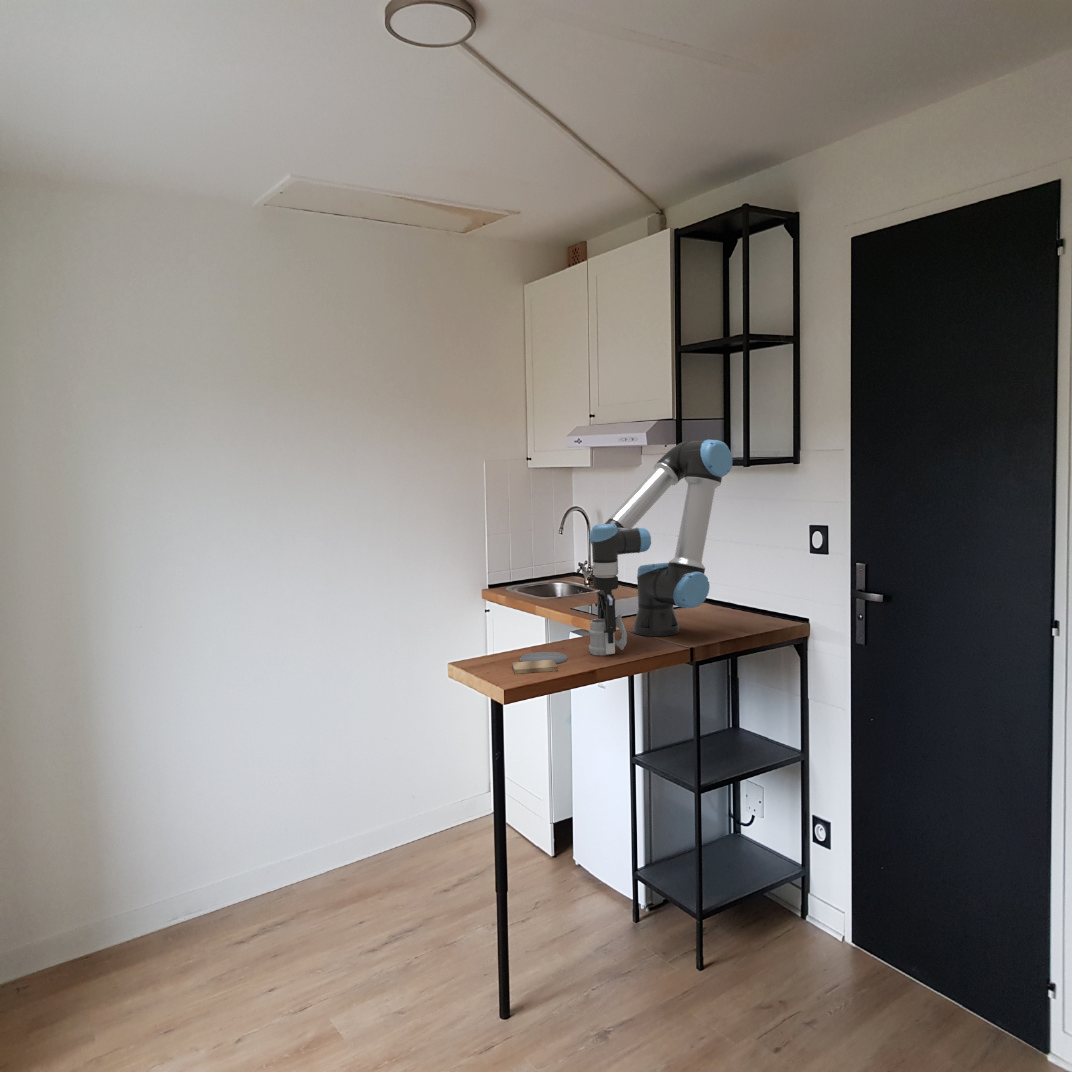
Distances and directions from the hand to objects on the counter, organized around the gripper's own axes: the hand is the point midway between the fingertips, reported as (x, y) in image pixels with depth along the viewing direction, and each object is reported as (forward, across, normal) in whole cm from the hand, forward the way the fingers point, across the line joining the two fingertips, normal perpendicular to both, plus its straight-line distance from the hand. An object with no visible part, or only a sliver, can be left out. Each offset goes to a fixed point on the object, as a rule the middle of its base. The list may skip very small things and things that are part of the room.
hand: (607, 650), depth 243 cm
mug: (+1, +1, 0) cm, 1 cm away
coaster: (+1, +3, -20) cm, 20 cm away
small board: (+1, +13, -24) cm, 27 cm away
